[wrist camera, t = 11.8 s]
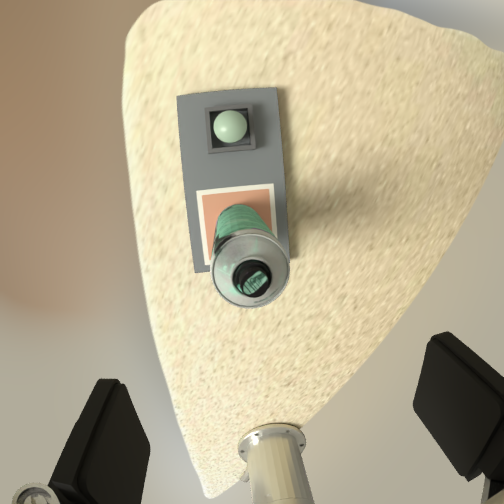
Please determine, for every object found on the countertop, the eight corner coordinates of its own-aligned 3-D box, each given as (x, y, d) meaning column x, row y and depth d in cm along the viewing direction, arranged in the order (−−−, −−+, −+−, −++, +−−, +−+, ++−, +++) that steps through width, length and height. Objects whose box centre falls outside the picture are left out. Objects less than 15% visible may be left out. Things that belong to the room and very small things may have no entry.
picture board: (287, 259, 41) (292, 266, 38) (195, 269, 40) (193, 277, 37) (274, 90, 35) (278, 84, 32) (178, 98, 35) (174, 92, 32)
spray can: (209, 240, 38) (196, 312, 19) (224, 197, 37) (225, 227, 18) (252, 254, 39) (279, 335, 20) (267, 212, 38) (313, 257, 18)
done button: (247, 141, 34) (248, 140, 33) (215, 144, 34) (215, 143, 32) (244, 111, 33) (245, 109, 32) (212, 114, 33) (212, 112, 31)
